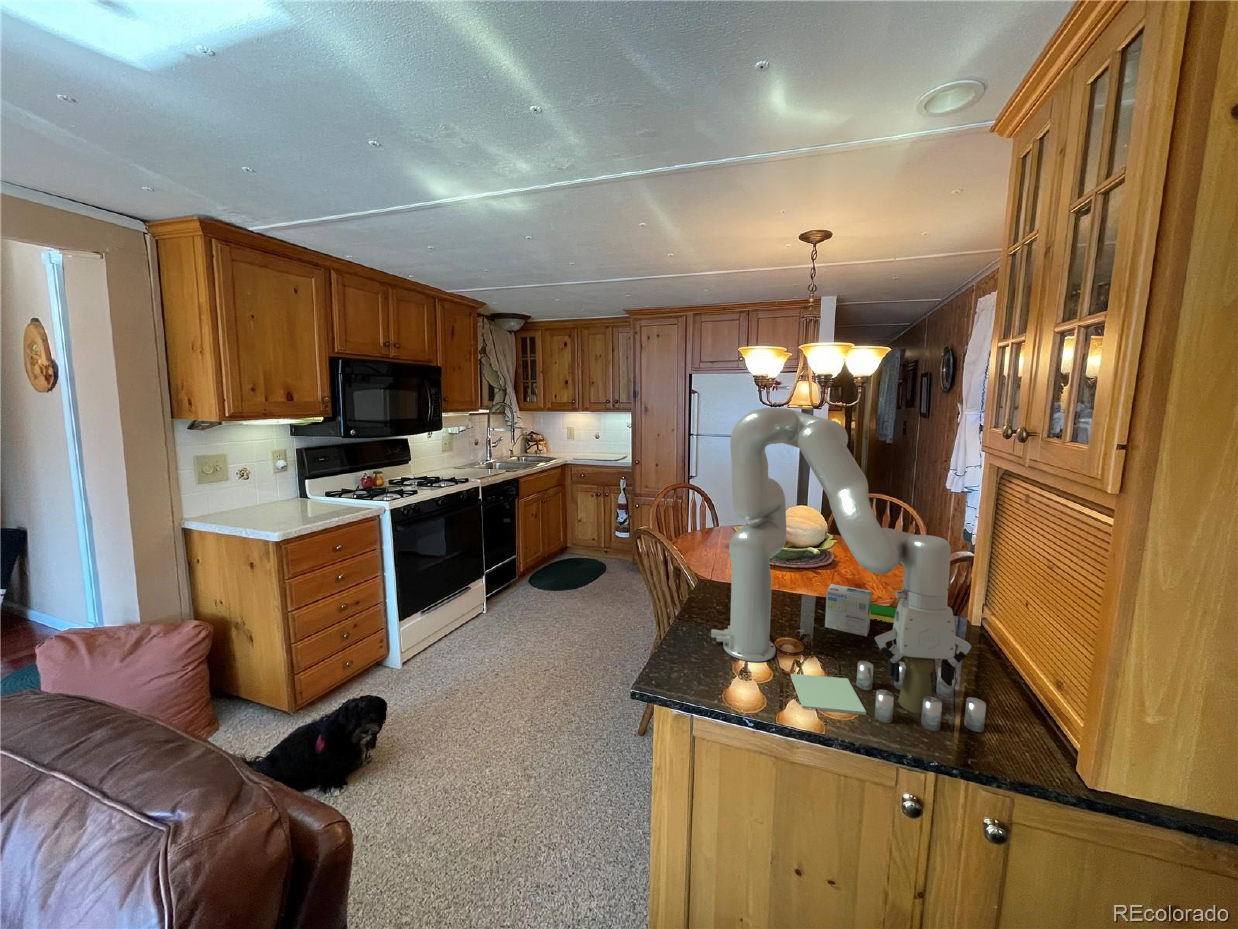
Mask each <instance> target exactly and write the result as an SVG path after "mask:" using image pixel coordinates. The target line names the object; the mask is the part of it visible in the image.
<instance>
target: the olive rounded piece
mask: <svg viewBox="0 0 1238 929" xmlns="http://www.w3.org/2000/svg"><path fill="white" fill-rule="evenodd" d="M903 662H904V664H905V666H906V671H905V675H904V679H903V683H902V687H901V690H899V691H900V693H899V695H898V700H897V701H898V704H899V705H900V706H901V707H902V708H904V709H905V710H906V711H909V712H911V713H915V714H918V715H922V707H923V698H924V697H926V696H930V697H933V694H932V692H933V691H932V679H931V673H932V672H934V668H935V662H934V659H927V658H912V657H906V656H903Z"/></svg>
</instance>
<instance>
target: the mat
mask: <svg viewBox="0 0 1238 929" xmlns="http://www.w3.org/2000/svg"><path fill="white" fill-rule="evenodd" d="M790 678H791V681H792V683H793V685H794V688H795V689H794V690H795V692H796V694H797V698H798V700H799V703H801V704H800V706H801V709H802V708H811V709H815V710H814V711H822V712H831V713H833V712H834V713H842V714H855V715H863V716H864V715H865V716H867V711H866V708H865V707H864V705H863V704H862V702H861V700H860V698H859V696H858V695H857V693H856V691H855V689H854V687H853V686H852V684H851V682H850V680H849V679H848V677H847V678H845V677H835V676H834V677H833V676H821V675H809V674H801V673H799V674H798V673H797V674H796V673H790ZM811 709H810V710H811ZM816 709H817V710H816Z"/></svg>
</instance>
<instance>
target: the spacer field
mask: <svg viewBox="0 0 1238 929" xmlns="http://www.w3.org/2000/svg"><path fill="white" fill-rule="evenodd" d="M898 662H899V664H900V676H899V682H895V681H894V680H893V682H894V683H893V686H894V687H895V689H897V690H899V691H901V687H902V683H903V679H904V675H905V671H906V666H905V664H904V661H898ZM940 676H941V666H940V667H938V668H937V675H936V679H937V680H936V689H935V692H936V693H937V694H938V695H940V696H942V697H944V698H953V697H954V692H955V691H954V689H955V681H956V680H955V678H956V673H955V674H954V680H952V686H948V685H947V684H946V683H945V682H944V681H943V680H942V679H941V677H940ZM873 677H874V663H871V662H869V661H866V660H859V661H858V662H857V672H856V683H855V685H856V686H857V688H859V689H861V690H864V691H870V690H872V689H873V679H874V678H873ZM875 692H876V693H875V705H874V706H875V707H874V718H875V719H876V720H878V721H879V722H882V723H884V724H890V723H892V722H893V714H894V703H895V702H894V701H895V700H894V699H895V695H894V694H893V693H892V692H891V691H890V690H887V689H877V690H876V691H875ZM942 710H943V703H942V701H941V700H940V699H938V698H936V697H933V696H932V697H930V696H926V697H924V698H923V707H922V714H921V722H920V723H921V725H922V727H923V728H924V729H927V730H929V731H933V732H937V731H940V730H941V723H942V722H941V720H942V718H941V717H942ZM964 711H965V712H964V721H963V722H964V723H963V724H964V726H965V728H967V729H969V730H970V731H972V732H976V733H977V732H978V733H982V732H984V731H985V730H984V729H985V720H986V713H987V712H986V711H987V704H986V702H985V701H984V700H982V699H979V698H978V697H971V696H970V697H969V696H968V697H967V698H966V700H965V709H964Z"/></svg>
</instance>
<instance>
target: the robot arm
mask: <svg viewBox="0 0 1238 929" xmlns="http://www.w3.org/2000/svg"><path fill="white" fill-rule="evenodd" d="M729 442H730V458H731V486H732V487H731V488H732V506H733V510H734V512H735V514H736V515H737V517H738V518H740V519H743V520H747V521H749V524H747V525H744V526H742V527H740V528H739V529H737V530H736V531H735V532H734V533H733V534H732V536H731V538H730V541H729V544H728V545H729V547H728V550H729V551H728V552H729V558H730V567H731V568H730V569H731V571H730V572H731V583H730V584H731V585H730V588H731V589H730V590H731V591H730V592H731V594H730V623H729V624H730V625H728V626H727V628H725V629H723V630H721V629H720V630H719V629H711V633H710V634H711V636H710V637H711V638H716V642H723V644H722V645H723V649H724V651H725V652H726V653H727V654H728V655H730V656H732V657H733V658H736V659H738V660H742V661H745V662H753V663H754V662H756V663H757V662H758V663H759V662H765V661H768V660H771V659H773V658H774V657H775V655H776V650H777V649H776V646H775V644H774V643H773V642H772V641H770V633H771V610H772V609H771V608H772V604H771V603H772V572H771V567H770V559H772V558H773V557H774V556H776V555H777V554H779V553H780V552H781V551H782V550H783V549H784V548H785V545H786V541H787V512H786V511H787V509H786V507H787V505H786V496H785V493H784V490H783V488H782V485H780V483H779V482H777V481H776V480H775V479H773V478H771V477H769V461H768V457H767V454H766V447H767V446H769V445H776V444H784V445H788V446H791V447H795V448H798V449H799V450H800V452H801V453H802V456H803V458H804V459H805V461H806V463H807V465H808V467H809V468H810V469H811V471H812V472H813V474H814V475H815V477H816V479H817V481H818V482H819V484H820V487H822V489H823V491H824V493H825V495H826V496H827V499H828V501H829V508H830V509H831V513H832V515H833V518H834V520H835V521H834V522H835V524H836V527H837V528H838V531H839V533H840V536H841V537H842V539H843V541H844V543H845V545H847V548H848V549H849V551H850V552H851V555H852V556H853V557H854V559H855V561H856V562H857V563H858V564H859V565H860V566H861V567H862V568H863V569H864V570H866V571H867V572H868V573H872V574H877V575H884V574H888V573H890V572H892V571H894V569H895V568H896V567H897V566H898V565H902V566H903V583H902V586H901V590H899V591H897V590H896V591H895V593H894V594H895V598H896V599H900V600H899V601H898V604H897V607H896V608H897V609H896V613H895V618H894V623H893V624H892V629H891V630H889V631H886V632H883V633H881V634H879V635H876V636H875V637H874V640H875V642H876V644H877V646H878V648H879V650H880V651H881V652H882V654H883V655H884V656H885V657H886V658H887V674H888V675H889V676H890V678H892V680H893V682H894V681H895V682H899V676H900V664H899V662H900V660H901V659H902V658H904V656H906V657H912V658H927V659H933V660H941V663H940V664H941V665H940V667H941V676H940V677H941V679H942V680H943V681H944V682H945V683H946V684H947V685H948V686H952V680H954V674H955V675H956V668H957V667H958V666H959V664H960V663H961V661H963V660H964V659H966V658H967V654H968V653H969V652H970V650H971V648H972V645H971V644H970V643H969V642H968V641H967V640H964V639H962V638H960V637H959V636H956V628H955V627H956V626H955V619H954V618H955V617H954V613H953V608H952V607H950V606H948V599H949V598H948V597H949V585H950V584H949V581H950V569H951V568H950V567H951V552H952V551H951V550H952V549H951V545H950V543H949V541H948V540H947V539H944V538H942V537H939V536H935V535H931V534H930V535H928V534H914V533H909V532H905V531H902V530H898V529H894V528H888V527H881V524H880V523H879V522H878V520H877V518H876V516H875V514H874V511H873V509H872V506H871V503H870V498H869V482H868V480H867V477H866V475H865V474H864V472H863V471H862V468H860V466H859V464H858V463H857V461H856V460H855V458H854V456H853V454H852V453H851V451H850V449H849V448H848V446H847V445H848V442H849V435H848V432H847V430H846V428H845V427H844V426H843V425H842V424H841V423H839V422H837V421H835V420H832V419H827V418H823V417H819V416H815V415H812V414H808V413H805V412H801V411H798V410H794V409H790V408H783V407H764V408H763V407H762V408H758V409H754V410H753V411H750V412H748V413H746V414H744V415H743V417H741V418H740V419H739V420H738V421H737V423H736V424H735V425H734V427H733V429H732V432H731V435H730V441H729ZM890 641H891V643H892V646H890V648H888V647H887V644H886V643H887V642H890ZM956 645H957V646H958V647H957V648H956Z"/></svg>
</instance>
